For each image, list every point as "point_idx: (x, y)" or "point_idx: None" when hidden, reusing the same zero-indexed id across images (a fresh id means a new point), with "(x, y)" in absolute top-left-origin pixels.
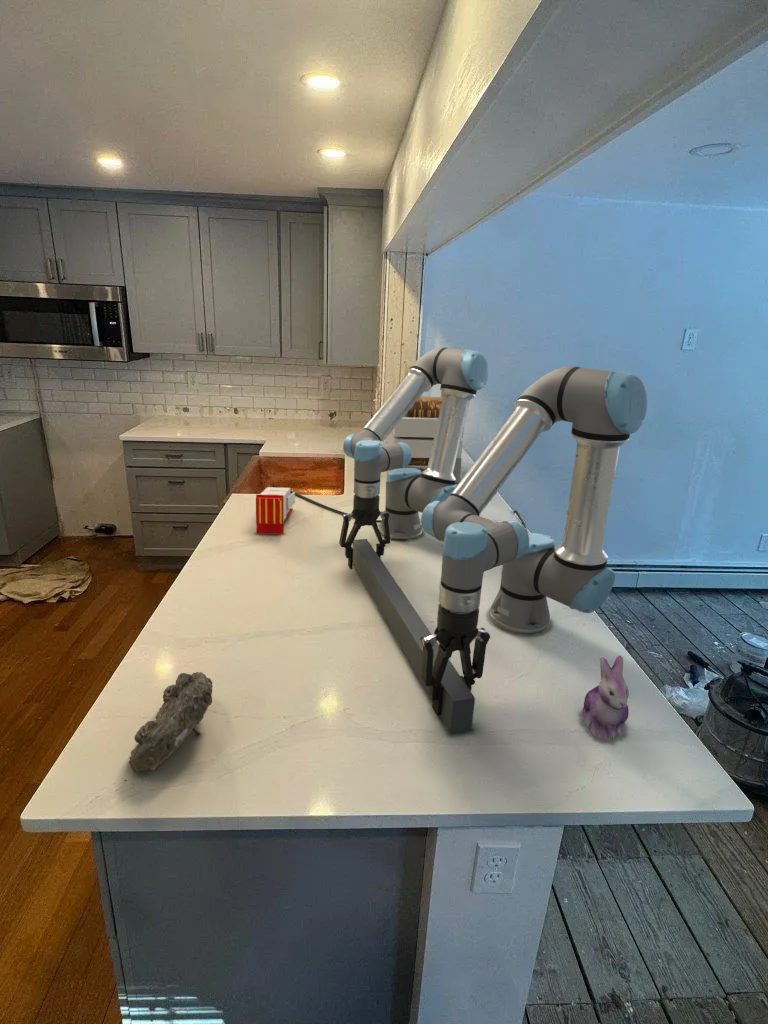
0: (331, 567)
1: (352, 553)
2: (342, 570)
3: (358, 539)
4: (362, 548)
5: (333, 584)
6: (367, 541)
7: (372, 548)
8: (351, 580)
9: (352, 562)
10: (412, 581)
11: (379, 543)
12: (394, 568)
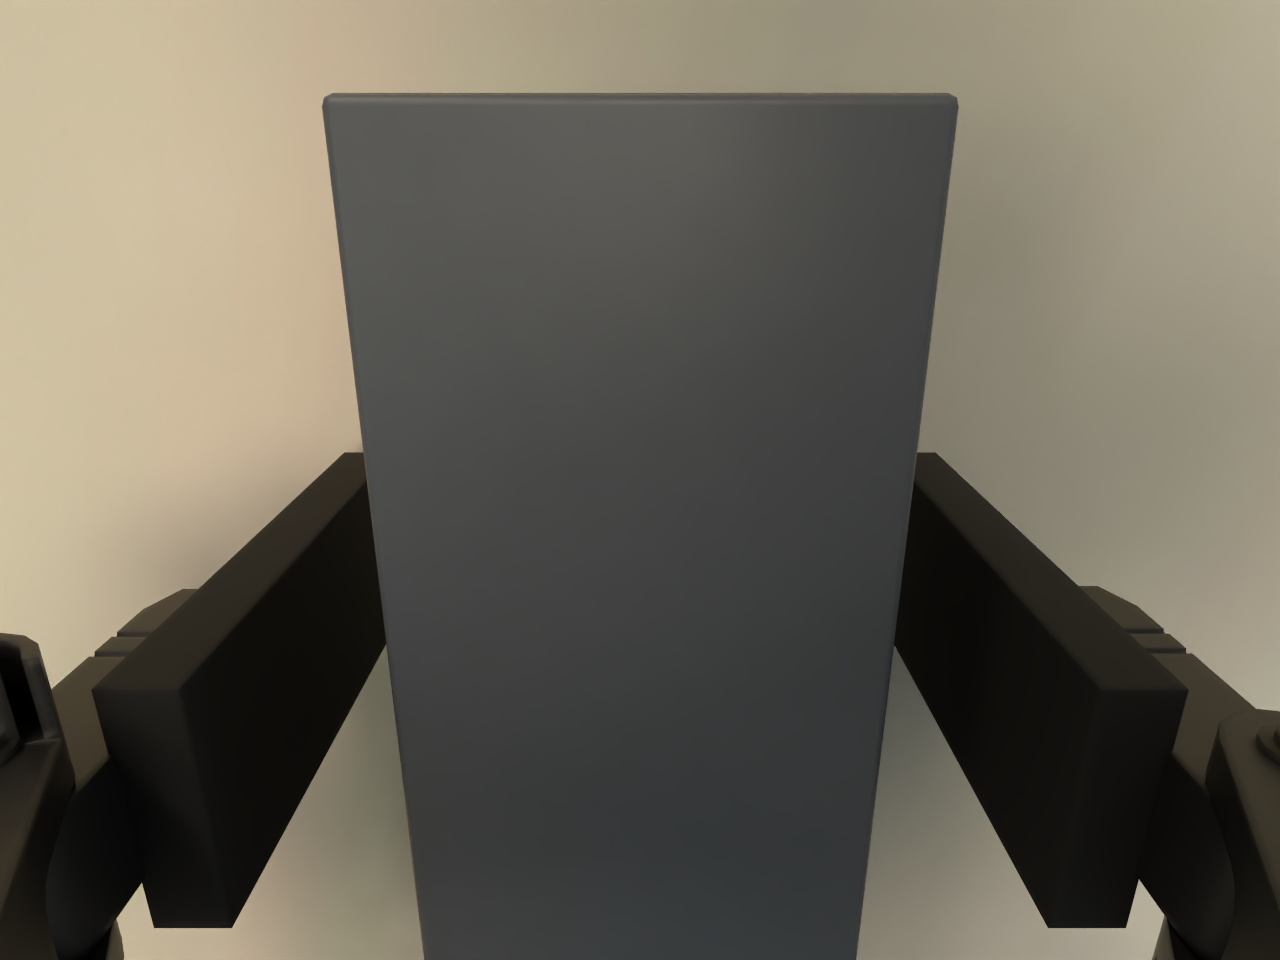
0: (69, 307)
1: (273, 828)
2: (266, 463)
3: (573, 105)
4: (537, 889)
5: None
6: (881, 398)
7: (833, 935)
8: (373, 789)
9: (363, 674)
10: None
11: (1188, 811)
12: (1153, 558)
